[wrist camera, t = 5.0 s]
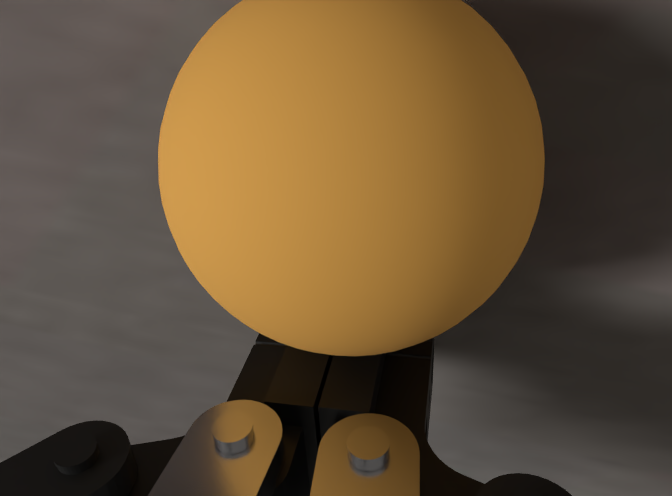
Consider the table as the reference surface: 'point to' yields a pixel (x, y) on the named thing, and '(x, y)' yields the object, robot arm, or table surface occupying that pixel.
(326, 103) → the ball
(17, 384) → the table surface
